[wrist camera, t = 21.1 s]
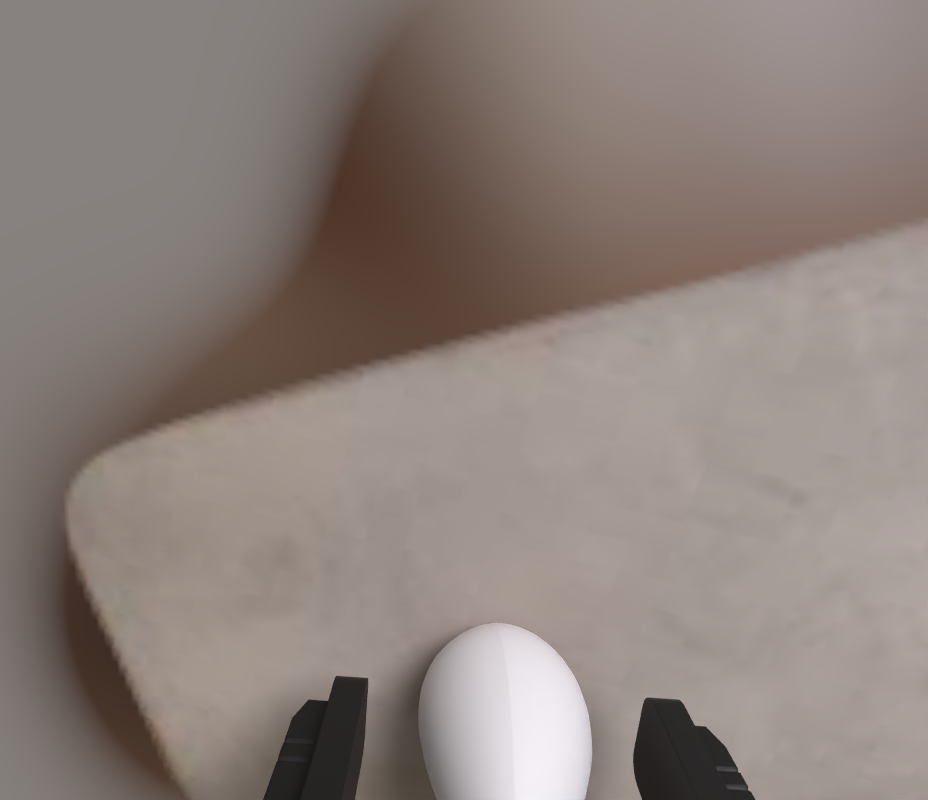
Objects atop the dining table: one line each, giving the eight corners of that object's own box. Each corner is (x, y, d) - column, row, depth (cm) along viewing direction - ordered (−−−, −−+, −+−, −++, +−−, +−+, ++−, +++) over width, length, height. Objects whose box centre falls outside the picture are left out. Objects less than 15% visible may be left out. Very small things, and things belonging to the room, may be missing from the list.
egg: (496, 746, 15) (519, 1006, 10) (394, 664, 15) (360, 896, 9) (598, 659, 15) (680, 886, 9) (496, 570, 14) (522, 759, 9)
